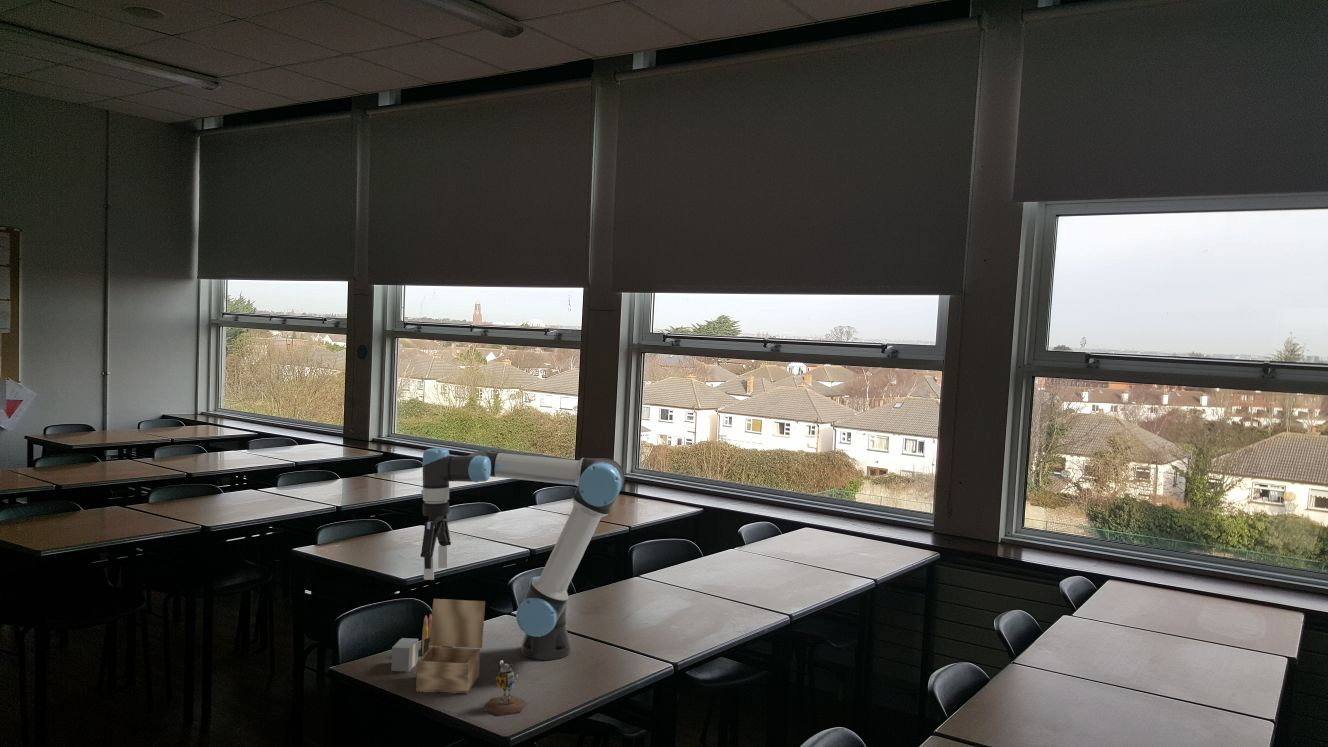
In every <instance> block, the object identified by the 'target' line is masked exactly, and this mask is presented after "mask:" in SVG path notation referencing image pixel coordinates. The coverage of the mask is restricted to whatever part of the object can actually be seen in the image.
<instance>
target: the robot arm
mask: <svg viewBox="0 0 1328 747" xmlns="http://www.w3.org/2000/svg"><path fill="white" fill-rule="evenodd" d="M421 466H422V467H421V468H422V489H421V491H420V492H421V494H422V501H423V503H422V515H423V516H424V517H428V521H425V522H424V531H423V532H424V533H423V538H422V544H421V545H422V546H421V552H420V558H423V580H424V581H425V580H427V581H428V580H429V581H430V580H431V581H433V580H435V556H434V552H435V547H436V543H437V541H438V544H439V545H438V546H437V550H438V551H437V558H438V560H437V562H438V563H437V565H438V569H439V568H440V569H448V568H449V550H448V549H449V546H451V544H452V541H451V537H450V530H449V523H448V515H449V514H450V502H449V500H450V482H464V483H465V482H470V483H471V482H472V483H479V482H480V483H481V482H488V481H489V479H490V477H491V478H502V479H512V480H522V481H533V482H543V483H549V484H550V483H551V484H560V485H568V486H569V485H571V486H576V489H575V491H574V493H573V495H572V500H573V501H572V502H573V504H574V505H573V507H572V510H571V512H570V514H569V515H568V518H567V520H566V522H565V524H564V526H563V529H562V531H561V532H560V534H559V537H558V539H557V540H556V542H555V545H554V548H553V550H552V551H551V553H550V555H549V558H548V560H547V561H546V564H545V566H544V568H543V570H542V572H541V574H540V575H539V576H533V577H531V578H530V579H529V584H528V589H527V590H526V593H525V596H524V597H523V600H522V601H521V602H520V603H519V605H518V607H517V609H516V614H515V617H516V623H517V626H518V627H519V629H520V630H521V631H522V632H523V633H525V635H524V637H523V640H522V643H521V651H520V652H521V654H522V656H524V657H526V658H529V659H533V660H540V661H541V660H542V661H549V660H551V661H552V660H556V659H557V660H558V659H563V658H566V657H567V656H569V655H570V654H571V651H572V645H571V644H572V643H571V640H570V636H569V633H568V629H567V608H568V607H567V605H568V604H567V602H568V599H569V593H568V589H569V585H570V583H571V581H572V579H573V577H574V574H575V573H576V571H577V569H578V567H579V565H580V563H581V560H582V559H583V557H584V554H585V552H586V550H587V547H588V546H589V544H590V542H591V540H592V537H593V535H594V534H595V532H596V529H597V527H598V525H599V523H600V521H601V519H602V518H603V517H606V516H608V515H609V514H610V512H611V511H612V508H613V506H614V504H615V502H616V500H617V499H618V498H617V497H619V495H620V492H621V491H622V488H623V486H624V484H625V478H626V476H625V472H624V469H623V467H622V466H621V465H620V463H619V462H617V461H616V460H613V459H610V458H591V457H581V458H580V459H579V460H577V459H567V458H565V459H564V458H556V457H555V458H554V457H548V456H547V457H546V456H534V455H523V454H514V453H506V452H505V453H504V452H493V451H491V450H489V449H480V450H477V451H475V452H473V453H470V454H469V455H451V454H450V451H449V449H448V448H441V447H439V448H436V447H435V448H428V449H425V450H424V451H423V454H422V465H421Z"/></svg>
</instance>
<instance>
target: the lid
mask: <svg viewBox="0 0 1328 747" xmlns="http://www.w3.org/2000/svg"><path fill="white" fill-rule="evenodd" d="M485 610H486V601H485V600H468V599H467V600H466V599H465V600H464V599H447V598H442V599H441V598H433V601H432V611H431V615H432V622H431V634H430V646H448V647H452V648H467V649H482V648H483V639H484V624H485V612H486V611H485Z"/></svg>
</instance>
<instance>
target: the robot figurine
mask: <svg viewBox="0 0 1328 747" xmlns="http://www.w3.org/2000/svg"><path fill="white" fill-rule="evenodd" d="M513 668H514V665H513V664H511V663H509V664H508V663H504V660H500V661H499V665H498V669H500V671H499V672H497V676H495V680H496V683H497V688H499V689H503V695H502V696H496V697H491V698H490V699H489V700H488V702H487V703H486V704H485V705H484V710H485V709H486V710H487V711H486V710H485V711H486V712H489V711H490V712H489V713H492V714H493V713H494V714H493V715H495V716H498V717H500V716H509V715H514V714H520V713H521V712H522V710H523V709H524V708H525V706H527V701H526V700H524V699H522V698H520V697H517V696H514V695H512V694H511V690H512V689H513V688H514V685H515V683H517V682H516V681H517V680H518V678H519V674H518V673H515V671H514V670H513ZM507 691H508V695H507V693H506V692H507Z"/></svg>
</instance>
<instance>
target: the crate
mask: <svg viewBox="0 0 1328 747" xmlns="http://www.w3.org/2000/svg"><path fill="white" fill-rule="evenodd" d="M480 651H481V648H468V647H452V648H447V647H430V648H429V649H428V650H427V651H426V653H425V654H424V655H421V656H420V658H418V661H417V664H416V679H415V683H416V684H415V691H416V692H419V691H420V692H421V693H437V692H452V693H451V694H456V693H468V692H470V691H471V690H470V689H472V688H473V687H474V685H475V684H476V682H477V681H478V679H479V677H480V658H481V657H480V656H481V652H480ZM474 683H475V684H474ZM472 686H473V687H472ZM422 691H423V692H422ZM468 694H469V693H468Z"/></svg>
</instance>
